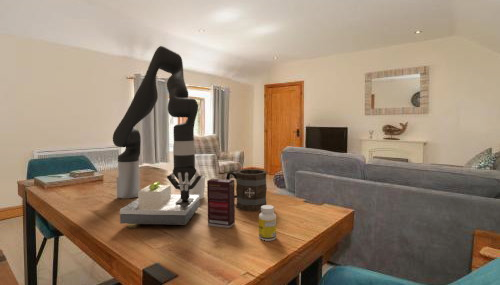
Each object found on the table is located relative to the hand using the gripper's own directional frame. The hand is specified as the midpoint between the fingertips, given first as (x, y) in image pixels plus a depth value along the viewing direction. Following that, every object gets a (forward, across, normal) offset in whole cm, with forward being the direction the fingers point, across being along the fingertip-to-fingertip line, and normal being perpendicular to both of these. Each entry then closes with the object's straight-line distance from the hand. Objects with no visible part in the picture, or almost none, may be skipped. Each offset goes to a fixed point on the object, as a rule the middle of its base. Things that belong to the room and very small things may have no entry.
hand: (185, 200), depth 100 cm
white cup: (+7, -3, +30) cm, 31 cm away
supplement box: (+8, +14, -4) cm, 16 cm away
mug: (+8, +21, +19) cm, 29 cm away
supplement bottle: (+8, +30, -14) cm, 34 cm away
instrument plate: (+2, -8, 0) cm, 8 cm away
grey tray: (+7, -8, 0) cm, 11 cm away
